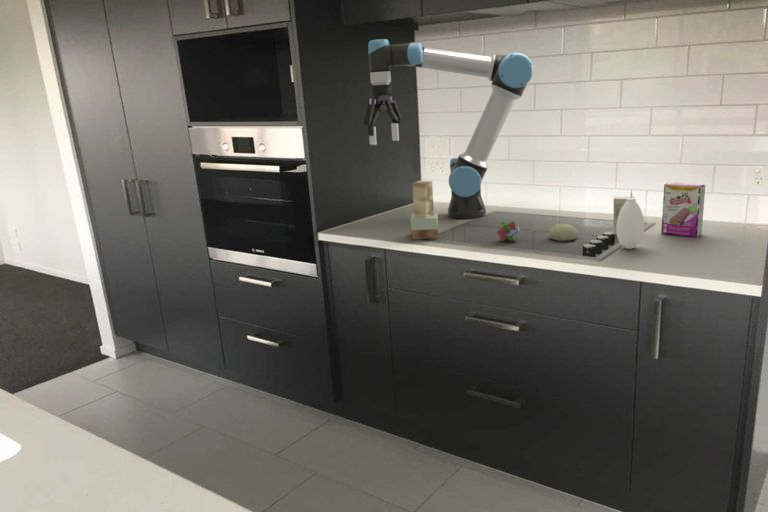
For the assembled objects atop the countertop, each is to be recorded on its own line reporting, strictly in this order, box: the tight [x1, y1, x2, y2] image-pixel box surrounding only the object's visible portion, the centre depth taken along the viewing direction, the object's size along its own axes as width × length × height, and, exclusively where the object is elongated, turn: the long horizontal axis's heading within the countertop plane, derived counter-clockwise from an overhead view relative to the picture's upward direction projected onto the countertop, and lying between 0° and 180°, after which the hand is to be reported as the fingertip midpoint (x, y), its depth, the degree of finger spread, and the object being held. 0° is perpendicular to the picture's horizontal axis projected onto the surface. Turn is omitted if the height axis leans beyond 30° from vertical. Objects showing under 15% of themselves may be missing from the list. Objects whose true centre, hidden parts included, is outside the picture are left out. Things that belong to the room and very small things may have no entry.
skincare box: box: [613, 196, 635, 236], centre depth 206 cm, size 6×4×12 cm
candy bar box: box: [660, 181, 706, 238], centre depth 199 cm, size 11×5×16 cm, turn 47°
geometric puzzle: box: [496, 220, 521, 243], centre depth 208 cm, size 7×7×8 cm
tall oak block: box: [412, 180, 435, 218], centre depth 218 cm, size 5×5×12 cm
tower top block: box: [409, 212, 439, 231], centre depth 221 cm, size 9×9×4 cm
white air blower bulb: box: [616, 189, 645, 250], centre depth 188 cm, size 8×8×18 cm
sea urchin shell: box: [548, 223, 578, 242], centre depth 206 cm, size 9×8×8 cm
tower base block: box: [411, 225, 439, 240], centre depth 222 cm, size 9×9×4 cm
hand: (384, 142), depth 235 cm, fingers open, 13 cm apart
